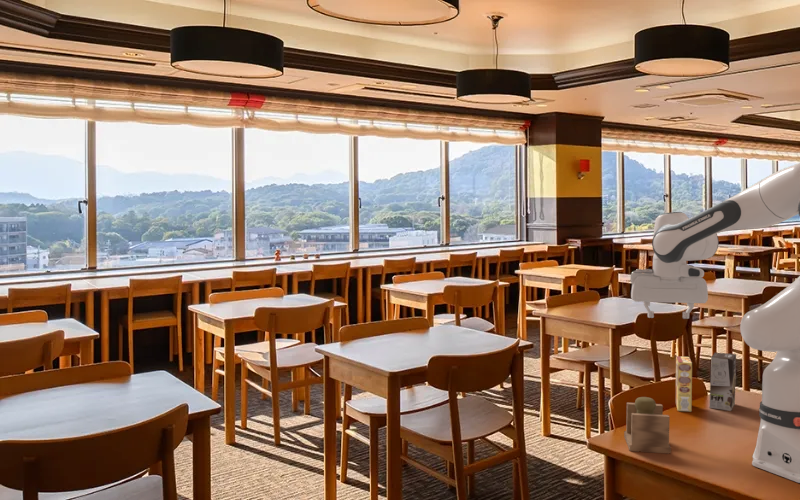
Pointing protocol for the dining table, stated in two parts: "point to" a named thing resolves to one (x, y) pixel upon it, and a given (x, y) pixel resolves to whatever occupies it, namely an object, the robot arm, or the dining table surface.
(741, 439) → the dining table surface
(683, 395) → the candy box
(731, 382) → the coffee box
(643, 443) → the caddy
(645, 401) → the cork
